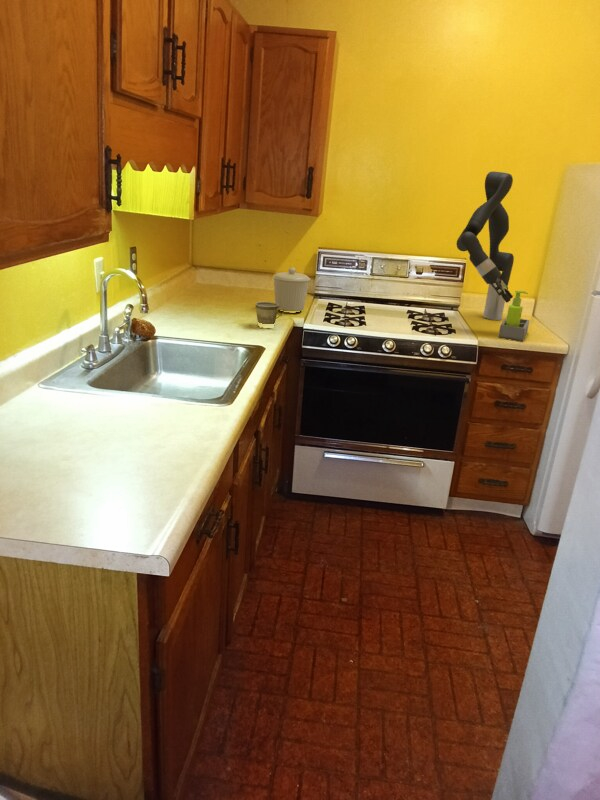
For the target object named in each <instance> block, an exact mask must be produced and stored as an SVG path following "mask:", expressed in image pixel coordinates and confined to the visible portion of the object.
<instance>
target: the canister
mask: <svg viewBox="0 0 600 800" xmlns="http://www.w3.org/2000/svg"><path fill="white" fill-rule="evenodd" d="M272 278H273V286H274V287H273V288H274V290H273V291H274V303H277V304H279V308H283V309H284V311H302V310H303V311H304V308H305V304H306V299H307V293H308V289H309V283H310V281H311V280H312V279H311V278H310V277H309V276H308V275H306V274H304V273H299V272H296V268H295V267H289V268H288V269H287V272H283V271H282V272H278V273H275V274H274V275H272ZM279 310H282V309H279ZM303 311H302V312H303Z"/></svg>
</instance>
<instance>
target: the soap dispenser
mask: <svg viewBox="0 0 600 800" xmlns="http://www.w3.org/2000/svg"><path fill="white" fill-rule="evenodd" d="M514 293H515V297H513V298H512V303H511V304H509V305H508V308H507V313H506V314H507V315H506V317H507V319H506V325H508V326H514V327H519V324H520V319H522V314H523V308H524V307H523V306H521V302H522V298H521V294H525V295H528V294H529V292H526V291H523V290H514Z"/></svg>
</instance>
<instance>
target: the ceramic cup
mask: <svg viewBox="0 0 600 800" xmlns="http://www.w3.org/2000/svg"><path fill="white" fill-rule="evenodd" d="M279 309H282V310H283V312H281V314H279V315H278V312H279V311H278V310H279ZM255 312H256V318H257V319H256V320H257V323H258V322H259V323H262V324H274V323H275V324H276V321H277V319H278V318H280V317H281V316H282V315H284V314H285V313H284V309H283V308H279V304H277V303H275V302H272V301H258V302H255ZM277 315H278V316H277Z"/></svg>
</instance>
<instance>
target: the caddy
mask: <svg viewBox="0 0 600 800" xmlns="http://www.w3.org/2000/svg"><path fill="white" fill-rule="evenodd" d="M506 319H507V316H506V317H505V318H504V319H503V321H502V322H501V324H500V327H499V332H498V337H499V338H498V337H497V338H498V339H502V338H505V339H504V340H508V339H511V340H510V341H514V340H515V342H521V343H522V342H523V341H524V340H525V338H526V336H527V334H528V330H529V325H530V319H523V318H521V319H520V324H519V327H514V326H508V325H506Z"/></svg>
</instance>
